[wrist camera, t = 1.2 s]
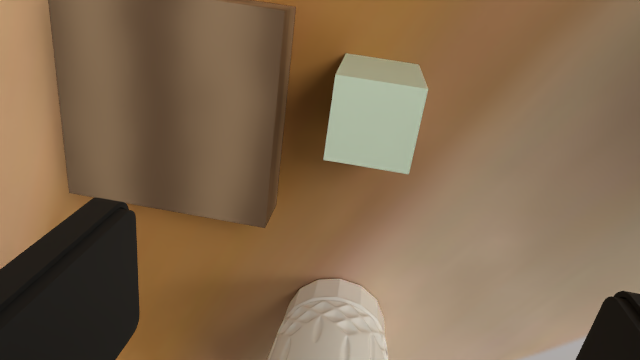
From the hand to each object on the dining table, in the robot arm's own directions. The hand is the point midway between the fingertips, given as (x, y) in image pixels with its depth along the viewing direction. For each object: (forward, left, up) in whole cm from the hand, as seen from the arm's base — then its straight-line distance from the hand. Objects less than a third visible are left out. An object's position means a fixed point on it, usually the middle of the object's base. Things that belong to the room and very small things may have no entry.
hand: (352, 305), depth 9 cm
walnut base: (+11, +2, -18) cm, 22 cm away
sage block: (0, 0, -19) cm, 19 cm away
